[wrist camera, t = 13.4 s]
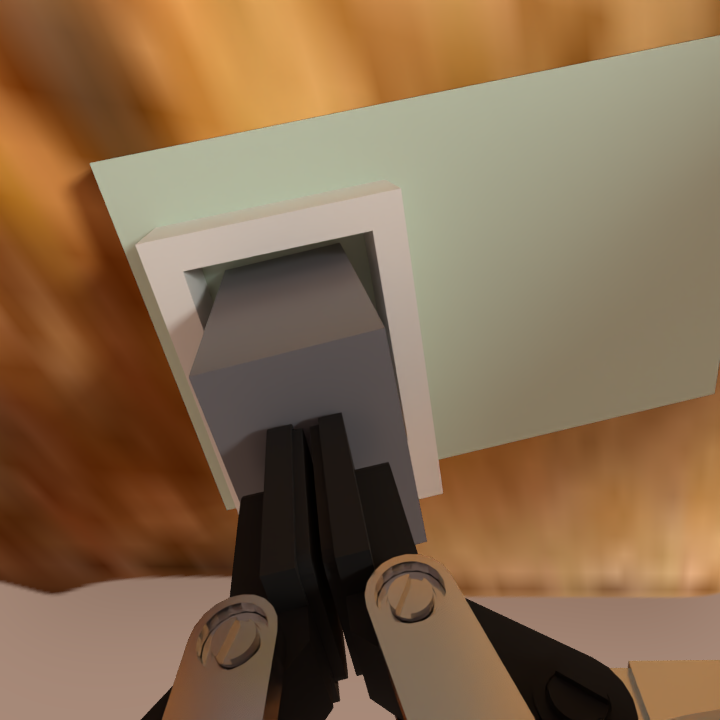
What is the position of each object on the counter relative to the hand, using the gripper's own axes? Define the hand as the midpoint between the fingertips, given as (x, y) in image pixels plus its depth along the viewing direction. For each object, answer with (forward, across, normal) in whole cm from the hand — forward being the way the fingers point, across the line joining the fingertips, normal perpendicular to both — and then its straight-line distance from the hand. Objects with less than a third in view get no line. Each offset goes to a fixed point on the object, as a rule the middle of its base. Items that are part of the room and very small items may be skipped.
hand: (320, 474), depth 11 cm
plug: (+8, 0, 0) cm, 8 cm away
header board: (+10, -6, 0) cm, 11 cm away
